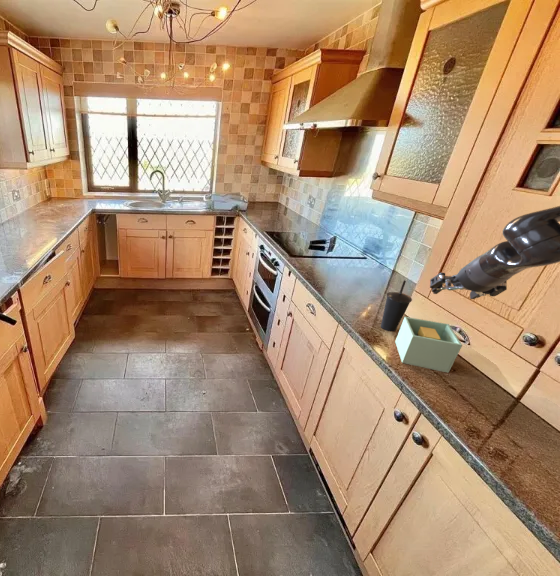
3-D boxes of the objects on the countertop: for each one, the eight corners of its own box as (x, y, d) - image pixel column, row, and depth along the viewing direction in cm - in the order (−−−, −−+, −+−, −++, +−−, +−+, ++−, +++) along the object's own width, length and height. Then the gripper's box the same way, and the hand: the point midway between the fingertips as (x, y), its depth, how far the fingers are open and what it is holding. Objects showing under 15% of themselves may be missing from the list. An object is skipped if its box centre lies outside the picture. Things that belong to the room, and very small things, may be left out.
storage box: (436, 350, 105) (448, 324, 100) (448, 373, 95) (462, 345, 90) (395, 341, 109) (404, 316, 105) (401, 362, 99) (412, 335, 95)
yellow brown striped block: (425, 351, 104) (435, 328, 100) (430, 362, 99) (441, 339, 94) (411, 348, 105) (420, 326, 101) (415, 359, 100) (425, 336, 96)
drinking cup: (377, 331, 115) (393, 283, 106) (375, 320, 121) (390, 274, 112) (401, 335, 112) (420, 287, 103) (398, 325, 118) (415, 278, 110)
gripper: (525, 261, 72) (484, 285, 87) (450, 254, 78) (423, 277, 92) (526, 291, 70) (484, 310, 85) (449, 281, 76) (421, 301, 90)
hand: (452, 293), depth 88 cm, fingers open, 8 cm apart
